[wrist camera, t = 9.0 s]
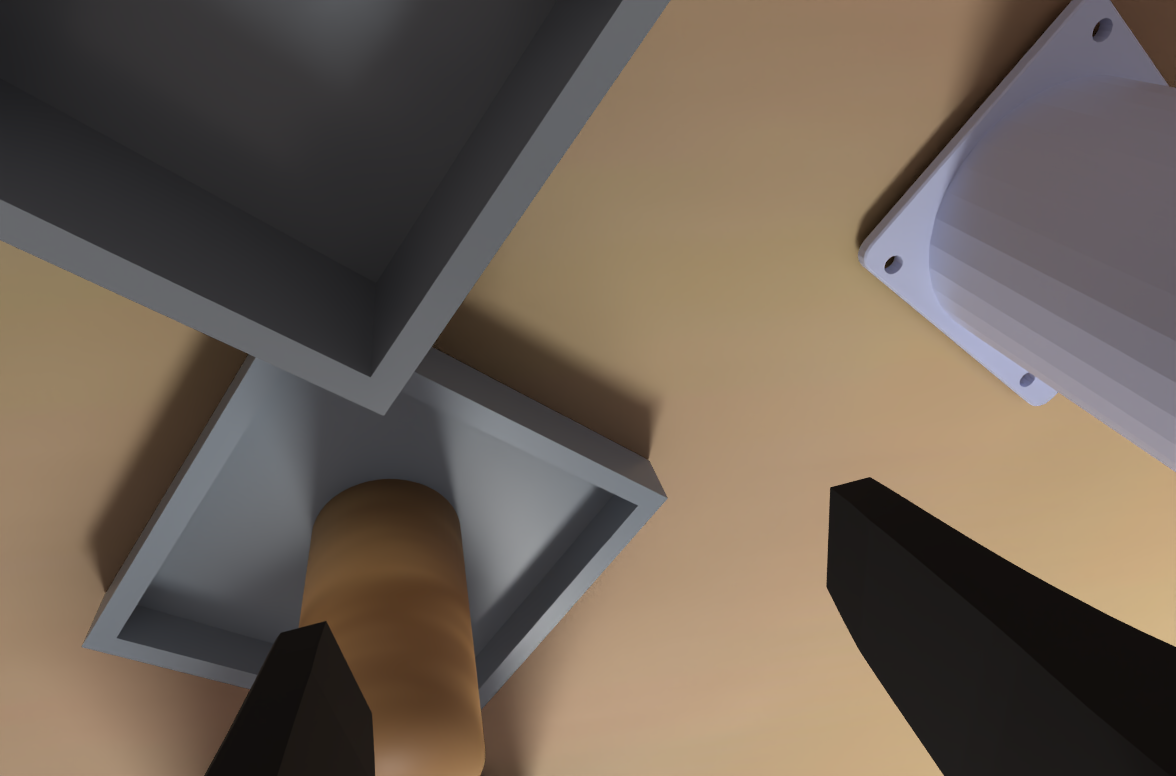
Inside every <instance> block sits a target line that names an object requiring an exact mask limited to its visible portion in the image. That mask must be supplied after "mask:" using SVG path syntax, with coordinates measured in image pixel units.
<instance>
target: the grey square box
mask: <svg viewBox="0 0 1176 776" xmlns="http://www.w3.org/2000/svg"><path fill="white" fill-rule="evenodd" d="M669 2H670V0H0V240H1V241H3V242H6V243H8V244H10V245H12V246H14V247H16V248H19V249H21V250H23V251H25V252H27V253H30V254H32V255H34V256H36V257H38V258H40V259H43V260H45V261H47V262H49V263H51V264H54V265H56V266H58V267H60V268H62V269H64V270H67V271H69V272H71V273H73V274H75V275H78V276H80V277H82V278H84V279H86V280H88V281H91V282H93V283H95V284H97V285H99V286H101V287H104V288H106V289H108V290H110V291H112V292H115V293H117V294H119V295H121V296H123V297H125V298H128V299H130V300H132V301H134V302H136V303H139V304H141V305H143V306H145V307H147V308H149V309H152V310H154V311H156V312H158V313H160V314H162V315H165V316H167V317H169V318H171V319H173V320H176V321H178V322H180V323H182V324H184V325H186V326H189V327H191V328H193V329H195V330H197V331H200V332H202V333H204V334H206V335H208V336H210V337H213V338H215V339H217V340H219V341H221V342H224V343H226V344H228V345H230V346H232V347H234V348H237V349H239V350H241V351H243V352H245V353H247V354H250V355H252V356H254V357H256V358H258V359H261V360H263V361H265V362H267V363H269V364H271V365H274V366H276V367H278V368H280V369H282V370H285V371H287V372H289V373H291V374H293V375H295V376H298V377H300V378H302V379H304V380H306V381H308V382H311V383H313V384H315V385H317V386H319V387H322V388H324V389H326V390H328V391H330V392H332V393H335V394H337V395H339V396H341V397H343V398H346V399H348V400H350V401H352V402H354V403H356V404H359V405H361V406H363V407H365V408H367V409H370V410H372V411H374V412H376V413H378V414H380V415H383V416H384V415H385V413H386V412H387V411H388V409H389V408H390V406H391V405H392V403H393V402H394V400H395V399H396V398H397V396H398V395H399V393H400V392H401V390H402V389H403V387H404V386H405V384H406V383H407V382H408V380H409V379H410V377H411V376H412V374H413V373H414V371H415V370H416V369H417V367H418V366H419V364H420V363H421V361H422V360H423V358H424V357H425V355H426V354H427V353H428V351H429V350H430V348H431V347H432V345H433V344H434V342H435V341H436V339H437V338H438V337H439V335H440V334H441V332H442V331H443V329H444V328H445V326H446V325H447V324H448V322H449V321H450V319H451V318H452V316H453V315H454V313H455V312H456V310H457V309H458V308H459V306H460V305H461V303H462V302H463V300H464V299H465V297H466V296H467V295H468V293H469V292H470V290H471V289H472V287H473V286H474V284H475V283H476V281H477V280H478V279H479V277H480V276H481V274H482V273H483V271H484V270H485V268H486V267H487V266H488V264H489V263H490V261H491V260H492V258H493V257H494V255H495V254H496V252H497V251H498V250H499V248H500V247H501V245H502V244H503V242H504V241H505V239H506V238H507V237H508V235H509V234H510V232H511V231H512V229H513V228H514V226H515V225H516V223H517V222H518V221H519V219H520V218H521V216H522V215H523V213H524V212H525V210H526V209H527V207H528V206H529V205H530V203H531V202H532V200H533V199H534V197H535V196H536V194H537V193H538V192H539V190H540V189H541V187H542V186H543V184H544V183H545V181H546V180H547V178H548V177H549V176H550V174H551V173H552V171H553V170H554V168H555V167H556V165H557V164H558V163H559V161H560V160H561V158H562V157H563V155H564V154H565V152H566V151H567V149H568V148H569V147H570V145H571V144H572V142H573V141H574V139H575V138H576V136H577V135H578V134H579V132H580V131H581V129H582V128H583V126H584V125H585V123H586V122H587V120H588V119H589V118H590V116H591V115H592V113H593V112H594V110H595V109H596V107H597V106H598V105H599V103H600V102H601V100H602V99H603V97H604V96H605V94H606V93H607V91H608V90H609V89H610V87H611V86H612V84H613V83H614V81H615V80H616V78H617V77H618V76H619V74H620V73H621V71H622V70H623V68H624V67H625V65H626V64H627V62H628V61H629V60H630V58H631V57H632V55H633V54H634V52H635V51H636V49H637V48H638V46H639V45H640V44H641V42H642V41H643V39H644V38H645V36H646V35H647V33H648V32H649V31H650V29H651V28H652V26H653V25H654V23H655V22H656V20H657V19H658V17H659V16H660V15H661V13H662V12H663V10H664V9H665V7H666V6H667V4H668V3H669Z"/></svg>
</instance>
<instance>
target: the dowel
mask: <svg viewBox="0 0 1176 776" xmlns="http://www.w3.org/2000/svg"><path fill="white" fill-rule="evenodd" d="M323 621H327V623H328V625H329V627H330V629H331V631H332V633H333V635H334V637H335V639H336V641H337V643H338V645H339V648H340V650H341V652H342V654H343V656H344V658H345V660H346V662H347V664H348V666H349V668H350V670H351V672H352V674H353V676H354V678H355V680H356V682H357V684H358V686H359V688H360V690H361V692H362V694H363V696H364V698H365V700H366V702H367V704H368V706H369V708H370V710H371V712H372V720H373V737H374V755H375V776H480V774H481V772H482V770H483V767H484V763H485V744H484V735H483V726H482V717H481V708H480V699H479V690H478V681H477V672H476V663H475V654H474V645H473V636H472V627H471V618H470V609H469V600H468V591H467V582H466V573H465V564H464V555H463V546H462V537H461V528H460V522H459V518H458V516H457V513H456V511H455V510H454V508H453V506H452V505H451V504H450V503H449V501H448V500H447V499H445V498H444V497H443V496H442V495H441V494H439V493H438V492H437V491H435V490H433V489H431V488H429V487H427V486H425V485H422V484H420V483H416V482H412V481H408V480H401V479H380V480H373V481H368V482H364V483H361V484H358V485H355V486H353V487H350V488H348V489H346V490H344V491H342V492H341V493H339V494H338V495H336V496H335V497H333V498H332V499H331V500H330V501H329V502H328V503H327V504H326V505H325V506H324V507H323V509H322V510H321V511H320V513H319V514H318V516H317V518H316V520H315V523H314V525H313V530H312V536H311V543H310V550H309V557H308V564H307V571H306V578H305V586H304V593H303V600H302V607H301V614H300V621H299V628H301V627H304V626H308V625H312V624H316V623H320V622H323Z"/></svg>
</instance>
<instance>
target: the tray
mask: <svg viewBox="0 0 1176 776" xmlns="http://www.w3.org/2000/svg"><path fill="white" fill-rule="evenodd" d="M380 479H401V480H408V481H412V482H416V483H420V484H422V485H425V486H427V487H429V488H431V489H433V490H435V491H437V492H438V493H439V494H441V495H442V496H443V497H444V498H445V499H447V500H448V501H449V503H450V504H451V505H452V506H453V508H454V510H455V511H456V513H457V516H458V518H459V522H460V528H461V537H462V546H463V555H464V564H465V573H466V582H467V591H468V600H469V609H470V618H471V627H472V636H473V645H474V654H475V663H476V672H477V681H478V690H479V699H480V708H481V710H482V709H483V707H484V706H485V705H486V704H487V703H488V702H489V701H490V699H491V698H492V697H493V696H494V695H495V694H496V693H497V691H498V690H499V689H500V688H501V687H502V686H503V685H504V684H505V682H506V681H507V680H508V679H509V678H510V677H511V676H512V674H513V673H514V672H515V671H516V670H517V669H518V668H519V666H520V665H521V664H522V663H523V662H524V661H525V660H526V659H527V657H528V656H529V655H530V654H531V653H532V652H533V651H534V649H535V648H536V647H537V646H538V645H539V644H540V643H541V641H542V640H543V639H544V638H545V637H546V636H547V635H548V634H549V632H550V631H551V630H552V629H553V628H554V627H555V626H556V624H557V623H558V622H559V621H560V620H561V619H562V618H563V617H564V615H565V614H566V613H567V612H568V611H569V610H570V609H571V607H572V606H573V605H574V604H575V603H576V602H577V601H578V599H579V598H580V597H581V596H582V595H583V594H584V593H585V592H586V590H587V589H588V588H589V587H590V586H591V585H592V584H593V582H594V581H595V580H596V579H597V578H598V577H599V576H600V574H601V573H602V572H603V571H604V570H605V569H606V568H607V567H608V565H609V564H610V563H611V562H612V561H613V560H614V559H615V557H616V556H617V555H618V554H619V553H620V552H621V551H622V549H623V548H624V547H625V546H626V545H627V544H628V543H629V542H630V540H631V539H632V538H633V537H634V536H635V535H636V534H637V532H638V531H639V530H640V529H641V528H642V527H643V526H644V524H645V523H646V522H647V521H648V520H649V519H650V518H651V517H652V515H653V514H654V513H655V512H656V511H657V510H658V509H659V507H660V506H661V505H662V504H663V503H664V502H665V501H666V499H667V496H666V494H665V492H664V490H663V488H662V486H661V484H660V482H659V480H658V477H657V475H656V473H655V471H654V469H653V467H652V465H651V463H650V461H649V460H647V459H645V458H644V457H642V456H640V455H638V454H636V453H634V452H632V451H630V450H628V449H626V448H624V447H623V446H621V445H619V444H617V443H615V442H613V441H611V440H609V439H607V438H605V437H603V436H601V435H600V434H598V433H596V432H594V431H592V430H590V429H588V428H586V427H584V426H582V425H580V424H579V423H577V422H575V421H573V420H571V419H569V418H567V417H565V416H563V415H561V414H559V413H557V412H556V411H554V410H552V409H550V408H548V407H546V406H544V405H542V404H540V403H538V402H536V401H535V400H533V399H531V398H529V397H527V396H525V395H523V394H521V393H519V392H517V391H515V390H513V389H512V388H510V387H508V386H506V385H504V384H502V383H500V382H498V381H496V380H494V379H492V378H491V377H489V376H487V375H485V374H483V373H481V372H479V371H477V370H475V369H473V368H471V367H470V366H468V365H466V364H464V363H462V362H460V361H458V360H456V359H454V358H452V357H450V356H448V355H447V354H445V353H443V352H441V351H439V350H437V349H435V348H433V347H431V348H430V350H429V351H428V353H427V354H426V355H425V357H424V358H423V360H422V361H421V363H420V364H419V366H418V367H417V369H416V370H415V371H414V373H413V374H412V376H411V377H410V379H409V380H408V382H407V383H406V384H405V386H404V387H403V389H402V390H401V392H400V393H399V395H398V396H397V398H396V399H395V400H394V402H393V403H392V405H391V406H390V408H389V409H388V411H387V412H386V413H385V415H384V416H383V415H380V414H378V413H376V412H374V411H372V410H370V409H367V408H365V407H363V406H361V405H359V404H356V403H354V402H352V401H350V400H348V399H346V398H343V397H341V396H339V395H337V394H335V393H332V392H330V391H328V390H326V389H324V388H322V387H319V386H317V385H315V384H313V383H311V382H308V381H306V380H304V379H302V378H300V377H298V376H295V375H293V374H291V373H289V372H287V371H285V370H282V369H280V368H278V367H276V366H274V365H271V364H269V363H267V362H265V361H263V360H261V359H258V358H256V357H254V356H252V355H250V354H248V356H247V357H246V359H245V361H244V362H243V364H242V366H241V368H240V369H239V371H238V373H237V374H236V376H235V378H234V379H233V381H232V383H231V384H230V386H229V388H228V389H227V391H226V393H225V394H224V396H223V398H222V399H221V401H220V403H219V404H218V406H217V408H216V409H215V411H214V413H213V414H212V416H211V418H210V419H209V421H208V423H207V424H206V426H205V428H204V429H203V431H202V433H201V434H200V436H199V438H198V440H197V441H196V443H195V445H194V446H193V448H192V450H191V451H190V453H189V455H188V456H187V458H186V460H185V461H184V463H183V465H182V466H181V468H180V470H179V471H178V473H177V475H176V476H175V478H174V480H173V481H172V483H171V485H170V486H169V488H168V490H167V491H166V493H165V495H164V496H163V498H162V500H161V501H160V503H159V505H158V506H157V508H156V510H155V512H154V513H153V515H152V517H151V518H150V520H149V522H148V523H147V525H146V527H145V528H144V530H143V532H142V533H141V535H140V537H139V538H138V540H137V542H136V543H135V545H134V547H133V548H132V550H131V552H130V553H129V555H128V557H127V558H126V560H125V562H124V563H123V565H122V567H121V568H120V570H119V572H118V573H117V575H116V577H115V579H114V580H113V582H112V584H111V585H110V587H109V589H108V590H107V592H106V594H105V595H104V598H103V600H102V602H101V604H100V607H99V609H98V611H97V613H96V616H95V618H94V620H93V622H92V625H91V627H90V629H89V631H88V634H87V636H86V638H85V640H84V643H83V645H82V647H84V648H88V649H92V650H96V651H100V652H104V653H108V654H112V655H116V656H120V657H124V658H128V659H132V660H135V661H139V662H143V663H147V664H151V665H155V666H159V667H163V668H167V669H171V670H175V671H179V672H183V673H187V674H191V675H195V676H199V677H203V678H207V679H211V680H215V681H219V682H223V683H227V684H231V685H235V686H239V687H243V688H247V689H251V687H252V685H253V683H254V681H255V679H256V677H257V675H258V673H259V671H260V669H261V667H262V665H263V663H264V661H265V659H266V657H267V655H268V653H269V651H270V649H271V647H272V645H273V644H274V642H275V640H276V638H277V637H278V636H279V634H280V633H282V632H285V631H289V630H293V629H297V628H299V621H300V614H301V607H302V600H303V593H304V586H305V578H306V571H307V564H308V557H309V550H310V543H311V536H312V530H313V525H314V523H315V520H316V518H317V516H318V514H319V513H320V511H321V510H322V509H323V507H324V506H325V505H326V504H327V503H328V502H329V501H330V500H331V499H332V498H333V497H335V496H336V495H338V494H339V493H341V492H342V491H344V490H346V489H348V488H350V487H353V486H355V485H358V484H361V483H364V482H368V481H373V480H380Z"/></svg>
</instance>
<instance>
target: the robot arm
mask: <svg viewBox="0 0 1176 776" xmlns="http://www.w3.org/2000/svg"><path fill="white" fill-rule="evenodd" d="M1098 22H1099V23H1100V25H1099V30H1098V31H1097V33H1096V35H1095V36H1094V37H1093V36H1092V34H1093V29H1094V27H1095V26H1096V24H1097V23H1098ZM892 256H894V261H893V263H892V264H891V265H890V266H889V267H887V268H885V263H886V262H887V260H888V259H889V258H891V257H892ZM858 259H859V262H860V263H861V265H862V266H863V267H864V268H866V269H867V270H868V271H869V272H871V273H872V274H873V275H874V276H875V277H877V278H878V279H879V280H880V281H881V282H883V283H884V284H885V285H886V286H887V287H889V288H890V289H891V290H892V291H893V292H895V293H896V294H897V295H898V296H899V297H901V298H902V299H903V300H904V301H905V302H907V303H908V304H909V305H910V306H911V307H913V308H914V309H915V310H916V311H918V312H919V313H920V314H921V315H922V316H924V317H925V318H926V319H927V320H928V321H930V322H931V323H932V324H933V325H934V326H936V327H937V328H938V329H939V330H940V331H942V332H943V333H944V334H945V335H946V336H948V337H949V338H950V339H951V340H952V341H954V342H955V343H956V344H957V345H959V346H960V347H961V348H962V349H963V350H965V351H966V352H967V353H968V354H969V355H971V356H972V357H973V358H974V359H975V360H977V361H978V362H979V363H980V364H981V365H983V366H984V367H985V368H986V369H987V370H989V371H990V372H991V373H992V374H993V375H995V376H996V377H997V378H998V379H999V380H1001V381H1002V382H1003V383H1004V384H1006V385H1007V386H1008V387H1009V388H1010V389H1012V390H1013V391H1014V392H1015V393H1016V394H1018V395H1019V396H1020V397H1021V398H1022V399H1024V400H1025V401H1026V402H1028V403H1029V404H1030V405H1033V406H1040V405H1043V404H1045V403H1047V402H1048V401H1049V400H1051V399H1052V398H1053V397H1054V396H1055V395H1056V394H1057V393H1058V392H1059V393H1060V394H1062V395H1063V396H1065V397H1066V398H1068V399H1069V400H1070V401H1072V402H1073V403H1075V404H1076V405H1078V406H1079V407H1081V408H1082V409H1084V410H1085V411H1087V412H1088V413H1090V414H1091V415H1093V416H1094V417H1095V418H1097V419H1098V420H1100V421H1101V422H1103V423H1104V424H1106V425H1107V426H1109V427H1110V428H1112V429H1113V430H1115V431H1116V432H1117V433H1119V434H1120V435H1122V436H1123V437H1125V438H1126V439H1128V440H1129V441H1131V442H1132V443H1134V444H1135V445H1137V446H1138V447H1139V448H1141V449H1142V450H1144V451H1145V452H1147V453H1148V454H1150V455H1151V456H1153V457H1154V458H1156V459H1157V460H1159V461H1160V462H1162V463H1163V464H1164V465H1166V466H1167V467H1169V468H1170V469H1172V470H1173V471H1175V472H1176V88H1175V87H1169V85H1168V84H1167V82H1166V81H1165V79H1164V78H1163V77H1162V75H1161V74H1160V72H1159V71H1158V69H1157V68H1156V66H1155V65H1154V63H1153V62H1152V61H1151V59H1150V58H1149V56H1148V55H1147V53H1146V52H1145V50H1144V49H1143V47H1142V46H1141V45H1140V43H1139V42H1138V40H1137V39H1136V37H1135V36H1134V34H1133V33H1132V31H1131V30H1130V28H1129V27H1128V26H1127V24H1126V23H1125V21H1124V20H1123V18H1122V17H1121V15H1120V14H1119V12H1118V11H1117V10H1116V8H1115V7H1114V5H1113V4H1112V2H1111V1H1110V0H1072V1H1071V2H1070V3H1069V4H1068V6H1067V7H1066V8H1065V9H1064V10H1063V11H1062V13H1061V14H1060V15H1059V16H1058V17H1057V18H1056V19H1055V21H1054V22H1053V23H1052V24H1051V25H1050V26H1049V28H1048V29H1047V30H1046V31H1045V32H1044V33H1043V34H1042V36H1041V37H1040V38H1039V39H1038V40H1037V41H1036V43H1035V44H1034V45H1033V46H1032V47H1031V48H1030V50H1029V51H1028V52H1027V53H1026V54H1025V55H1024V56H1023V58H1022V59H1021V60H1020V61H1019V62H1018V63H1017V65H1016V66H1015V67H1014V68H1013V69H1012V70H1011V71H1010V73H1009V74H1008V75H1007V76H1006V77H1005V78H1004V80H1003V81H1002V82H1001V83H1000V84H999V85H998V86H997V88H996V89H995V90H994V91H993V92H992V93H991V95H990V96H989V97H988V98H987V99H986V100H985V102H984V103H983V104H982V105H981V106H980V107H979V108H978V110H977V111H976V112H975V113H974V114H973V115H972V117H971V118H970V119H969V120H968V121H967V122H966V123H965V125H964V126H963V127H962V128H961V129H960V130H959V132H958V133H957V134H956V135H955V136H954V137H953V138H952V140H951V141H950V142H949V143H948V144H947V145H946V147H945V148H944V149H943V150H942V151H941V152H940V153H939V155H938V156H937V157H936V158H935V159H934V160H933V162H932V163H931V164H930V165H929V166H928V167H927V169H926V170H925V171H924V172H923V173H922V174H921V175H920V177H919V178H918V179H917V180H916V181H915V182H914V184H913V185H912V186H911V187H910V188H909V189H908V190H907V192H906V193H905V194H904V195H903V196H902V197H901V199H900V200H899V201H898V202H897V203H896V204H895V205H894V207H893V208H892V209H891V210H890V211H889V212H888V214H887V215H886V216H885V217H884V218H883V219H882V221H881V222H880V223H879V224H878V225H877V226H876V227H875V229H874V230H873V231H872V232H871V233H870V234H869V236H868V237H867V238H866V239H865V240H864V241H863V243H862V245H861V246H860V248H859V252H858ZM1023 375H1024V376H1023ZM827 589H828V591H829V593H830V595H831V597H832V599H833V601H834V603H835V605H836V607H837V609H838V611H839V613H840V615H841V617H842V619H843V621H844V623H845V624H846V626H847V628H848V630H849V632H850V634H851V636H852V638H853V639H854V641H855V643H856V645H857V647H858V649H859V651H860V652H861V654H862V655H863V657H864V658H865V660H866V661H867V663H868V664H869V666H870V667H871V669H872V670H873V672H874V673H875V675H876V676H877V678H878V679H879V681H880V682H881V684H882V685H883V687H884V688H885V690H886V691H887V693H888V694H889V696H890V697H891V699H892V700H893V701H894V703H895V704H896V706H897V707H898V709H899V710H900V712H901V713H902V715H903V716H904V718H905V719H906V721H907V722H908V723H909V725H910V726H911V728H912V729H913V731H914V732H915V734H916V735H917V737H918V738H919V740H920V741H921V743H922V744H923V745H924V747H925V748H926V750H927V751H928V753H929V754H930V756H931V757H932V759H933V760H934V762H935V763H936V765H937V766H938V767H939V769H940V770H941V772H942V773H943V775H944V776H1176V647H1175V646H1172V645H1170V644H1168V643H1166V642H1164V641H1161V640H1159V639H1157V638H1155V637H1153V636H1151V635H1148V634H1146V633H1144V632H1142V631H1140V630H1138V629H1136V628H1134V627H1132V626H1129V625H1127V624H1125V623H1123V622H1121V621H1119V620H1117V619H1115V618H1113V617H1111V616H1109V615H1107V614H1105V613H1103V612H1101V611H1100V610H1098V609H1096V608H1094V607H1092V606H1090V605H1088V604H1086V603H1084V602H1082V601H1080V600H1079V599H1077V598H1075V597H1073V596H1071V595H1069V594H1067V593H1065V592H1063V591H1061V590H1059V589H1058V588H1056V587H1054V586H1052V585H1050V584H1048V583H1047V582H1045V581H1043V580H1041V579H1039V578H1038V577H1036V576H1034V575H1032V574H1030V573H1028V572H1027V571H1025V570H1023V569H1021V568H1020V567H1018V566H1016V565H1014V564H1013V563H1011V562H1009V561H1007V560H1006V559H1004V558H1002V557H1001V556H999V555H997V554H995V553H994V552H992V551H990V550H989V549H987V548H985V547H984V546H982V545H980V544H979V543H977V542H975V541H974V540H972V539H970V538H969V537H967V536H965V535H964V534H962V533H960V532H959V531H957V530H955V529H954V528H952V527H950V526H949V525H947V524H946V523H944V522H942V521H941V520H939V519H937V518H936V517H934V516H933V515H931V514H929V513H928V512H926V511H924V510H923V509H921V508H920V507H918V506H916V505H915V504H913V503H912V502H910V501H908V500H907V499H905V498H904V497H902V496H900V495H899V494H897V493H895V492H894V491H892V490H891V489H889V488H887V487H886V486H884V485H882V484H881V483H879V482H877V481H876V480H874V479H872V478H871V477H868V478H865V479H861V480H857V481H853V482H849V483H846V484H842V485H838V486H834V487H830V509H829V535H828V561H827ZM204 776H375V755H374V737H373V720H372V712H371V710H370V708H369V706H368V704H367V702H366V700H365V698H364V696H363V694H362V692H361V690H360V688H359V686H358V684H357V682H356V680H355V678H354V676H353V674H352V672H351V670H350V668H349V666H348V664H347V662H346V660H345V658H344V656H343V654H342V652H341V650H340V648H339V645H338V643H337V641H336V639H335V637H334V635H333V633H332V631H331V629H330V627H329V625H328V623H327V621H323V622H320V623H316V624H312V625H308V626H304V627H301V628H297V629H293V630H289V631H285V632H282V633H280V634H279V636H278V637H277V638H276V640H275V642H274V644H273V645H272V647H271V649H270V651H269V653H268V655H267V657H266V659H265V661H264V663H263V665H262V667H261V669H260V671H259V673H258V675H257V677H256V679H255V681H254V683H253V685H252V687H251V689H250V691H249V693H248V695H247V697H246V699H245V701H244V702H243V704H242V706H241V708H240V710H239V712H238V714H237V716H236V718H235V720H234V722H233V724H232V725H231V727H230V729H229V731H228V733H227V735H226V737H225V739H224V741H223V742H222V744H221V746H220V748H219V750H218V752H217V753H216V755H215V757H214V759H213V761H212V762H211V764H210V766H209V768H208V770H207V772H206V773H205V775H204Z"/></svg>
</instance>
